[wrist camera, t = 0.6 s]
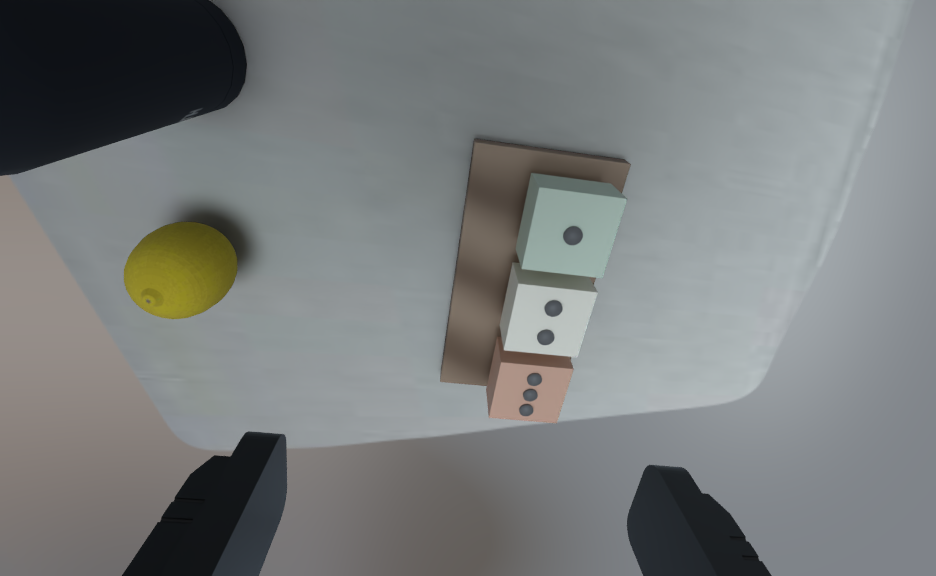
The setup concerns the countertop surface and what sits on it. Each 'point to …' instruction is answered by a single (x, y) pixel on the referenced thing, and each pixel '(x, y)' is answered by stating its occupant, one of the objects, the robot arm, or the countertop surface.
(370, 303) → the countertop surface
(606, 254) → the key one
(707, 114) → the countertop surface
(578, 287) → the key two
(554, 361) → the key three
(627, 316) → the countertop surface
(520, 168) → the board
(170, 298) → the lemon
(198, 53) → the wine bottle
